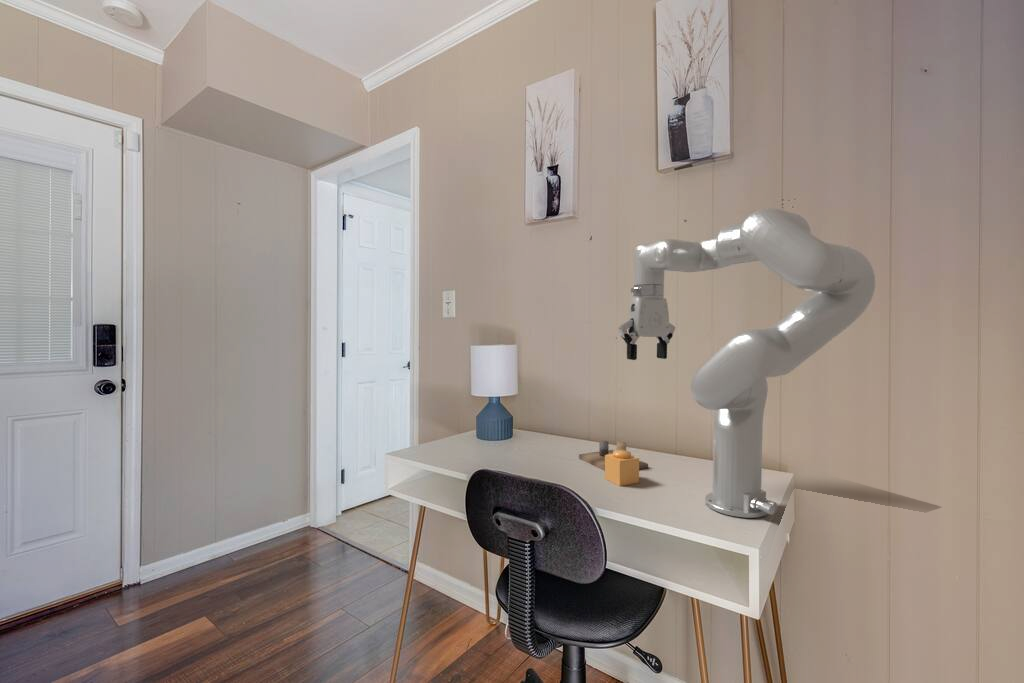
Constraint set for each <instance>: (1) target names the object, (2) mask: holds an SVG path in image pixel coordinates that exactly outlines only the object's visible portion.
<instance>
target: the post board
mask: <svg viewBox="0 0 1024 683" xmlns="http://www.w3.org/2000/svg"><path fill="white" fill-rule="evenodd" d="M598 442H599V443H598V444H599V451H594V452H587V453H580V454H578V458H579V460H581V461H584V462H585V463H588V464H590V465H592V466H594V467H596V468H599V469H601V470H603V471H605V455H607V454H613V451H615V450H614V449H609V441H608V440H600V441H598ZM616 450H625V451H627V442H624V441H616ZM644 469H649V463H647V462H645V461H642V460H641V459H639V471H641V470H644Z"/></svg>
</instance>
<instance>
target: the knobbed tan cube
mask: <svg viewBox="0 0 1024 683" xmlns="http://www.w3.org/2000/svg"><path fill="white" fill-rule="evenodd" d="M631 453H632V452H631V451H628V450H626V451H625V450H617V449H616V450H614V451H613V454H607V455H605V470H604V480H607V481H608V482H611V483H613V484H614V485H617V486H618V487H622V486H626V485H633V484H638V483H640V470H639V460H640V457H638V456H636V455H632V454H631Z"/></svg>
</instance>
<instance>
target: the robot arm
mask: <svg viewBox="0 0 1024 683" xmlns="http://www.w3.org/2000/svg"><path fill="white" fill-rule="evenodd" d="M633 254H634V255H633V256H634V257H633V261H634V262H633V287H631V288H630V293H631V294H633V295H632V296H633V297H632V298H631V300H630V305H629V310H628V311H629V312H628V319H627V321H626V322H624V323H623V324H621V325H620V326H618V331H619V333H620V336H621V339H623V341H624V344H625V345H626V359H627V360H631V361H636V360H637V358H638V353H637V352H638V344H637V343H636V342H637V341H638V339H639V338H640V337H642V338H644V337H645V338H646V337H648V338H653V337H654V338H656V339H657V341H658V342H657V343H656V358H657V359H664V360H666V359H667V358H668V344H669V343H670V341H671V339H672V338H673V335H674V332H675V330H676V327H675V325H674V324H672V323H671V322H670V315H669V314H670V313H669V307H668V306H669V305H668V301H667V298H666V297H664V296H665V271H670V272H683V273H697V272H704V271H712V270H717V269H723V268H726V267H727V268H728V267H729V266H732V265H738V264H746V263H751V262H757V261H760V263H762V264H763V265H764V266H766V267H767V268H769V269H770V270H771V271H772V272H774V273H776V274H777V275H778V276H779V277H780V278H782V280H784V281H785V282H787V283H788V284H790V285H791V286H793V287H795V288H797V289H799V290H803V291H807V292H815V293H814V294H813V295H812V296H810V297H809V298H807V299H806V300H804V301H803V302H801V303H800V304H798V305H797V306H796V307H794V308H793V309H792V310H791V311H790V312H788V314H786V315H785V316H784V317H782V318H781V319H780V320H779V321H778V322H776V323H775V324H774V325H772V326H770V327H767V328H759V329H758V328H757V329H756V328H755V329H748V330H746V331H742V332H740V333H739V334H737V335H735V336H733V337H732V338H731V339H729V340H728V341H727V342H726V343H725V344H723V345H722V347H720V348H719V349H718V350H717V351H716V352H714V354H712V355H711V356H710V358H708V359H707V360H706V361H705V362H704V363H703V364H701V365H700V367H698V368H697V370H696V371H695V372H694V374H693V376H692V378H691V381H690V393H691V396H692V397H693V400H694V401H695V402H696V403H697V404H698V405H699V406H701V407H702V408H704V409H706V410H710V411H715V416H714V419H713V420H714V421H713V437H712V438H713V444H712V445H713V446H712V448H713V452H712V492H709V493H708V494H706V495H705V497H704V503H705V505H706V506H707V507H709V508H710V509H711V510H713V511H715V512H718V513H721V514H724V515H728V516H732V517H737V518H747V519H750V518H751V519H753V518H762V517H765V516H767V515H771V516H773V515H774V513H775V512H776V509H777V507H778V503H777V502H775V501H773V500H769V499H767V491H766V490H763V489H762V479H763V478H762V474H763V473H762V471H763V470H762V468H763V430H764V429H763V425H764V414H765V407H766V403H767V402H766V401H767V397H768V393H769V391H768V390H769V389H768V387H769V386H768V380H767V379H768V378H769V379H770V378H776V377H781V376H785V375H788V374H789V373H791V372H793V371H794V370H795V369H797V368H798V367H799V366H800V365H801V364H803V363H804V362H805V361H807V360H808V359H809V358H811V357H812V356H813V355H814V354H816V353H817V352H819V350H821V349H822V348H824V346H827V344H828V343H830V341H832V340H833V339H835V337H838V335H840V334H841V333H842V332H844V331H845V330H846V329H847V328H849V327H850V326H852V324H854V322H856V321H857V320H858V319H859V318H860V317H861V316H862V315H863V313H864V312H865V311H866V309H867V308H868V306H869V305H870V303H871V301H872V299H873V297H874V294H875V289H876V276H875V272H874V268H873V266H872V263H871V262H870V260H869V259H868V258H867V257H866V256H865V254H863V253H862V252H860V251H859V250H857V249H854V248H851V247H848V246H843V245H839V244H833V243H828V242H824V241H822V240H821V239H820V238H818V237H816V236H815V235H813V234H812V232H811V227H810V225H809V223H808V221H807V219H806V218H804V217H803V216H801V215H799V214H798V213H794V212H792V211H788V210H786V211H785V210H783V209H778V208H773V207H771V208H770V207H766V208H761V209H758V210H756V211H754V212H752V213H750V214H749V215H748V216H747V217H746V218H745V219H744V220H743V222H738V223H733V224H728V225H724V226H723V227H722V228H721V229H719V232H718V233H717V236H716V237H715V238H714V237H713V238H711V239H706V240H701V241H700V240H699V241H689V240H683V239H675V238H674V239H673V238H663V239H659V240H658V241H655V242H651V243H642V244H639V245H637V246H636V247H635V248H634V253H633Z"/></svg>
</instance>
